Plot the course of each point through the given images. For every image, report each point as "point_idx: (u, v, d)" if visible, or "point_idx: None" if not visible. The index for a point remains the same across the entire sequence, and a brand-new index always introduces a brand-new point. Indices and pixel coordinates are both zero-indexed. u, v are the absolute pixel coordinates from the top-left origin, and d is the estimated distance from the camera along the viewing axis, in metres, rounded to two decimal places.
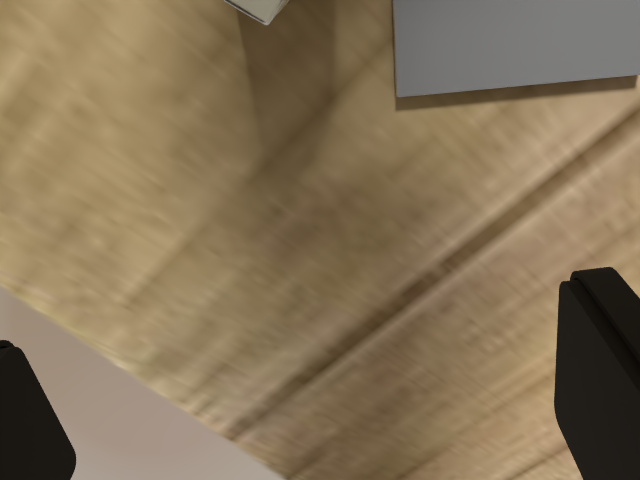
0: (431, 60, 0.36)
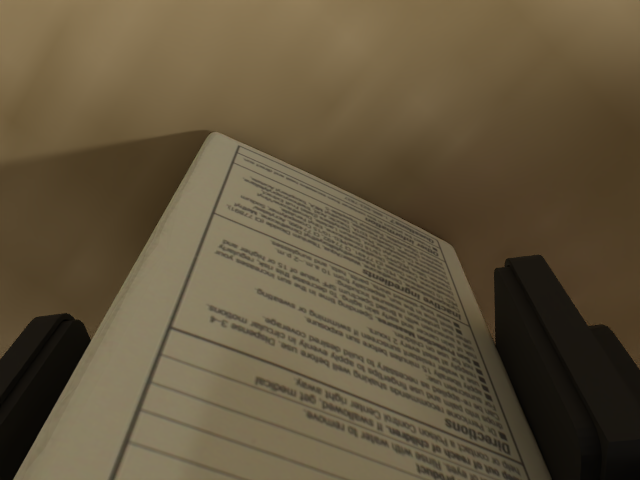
0: None
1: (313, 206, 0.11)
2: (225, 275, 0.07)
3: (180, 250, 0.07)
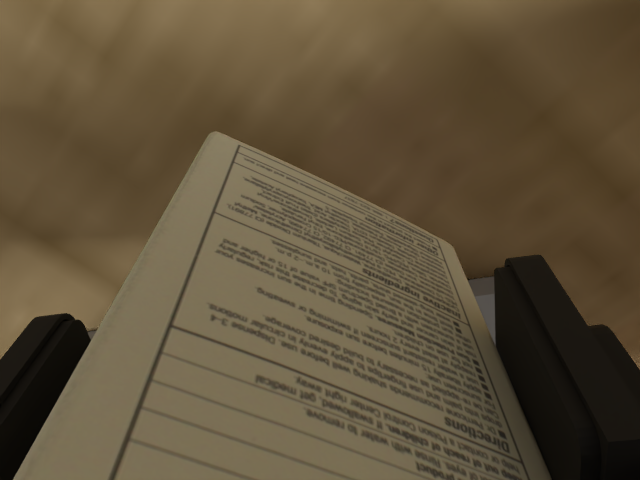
0: None
1: (313, 205, 0.11)
2: (226, 274, 0.07)
3: (181, 249, 0.07)
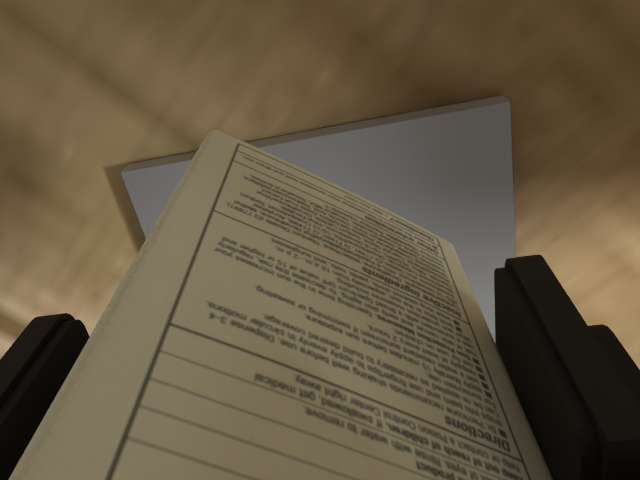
0: None
1: (312, 204, 0.10)
2: (224, 272, 0.07)
3: (179, 247, 0.07)
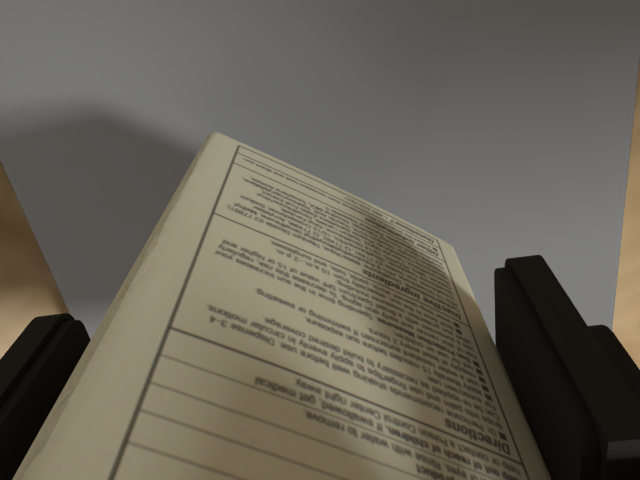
0: (30, 48, 0.15)
1: (313, 206, 0.10)
2: (225, 275, 0.07)
3: (179, 250, 0.07)
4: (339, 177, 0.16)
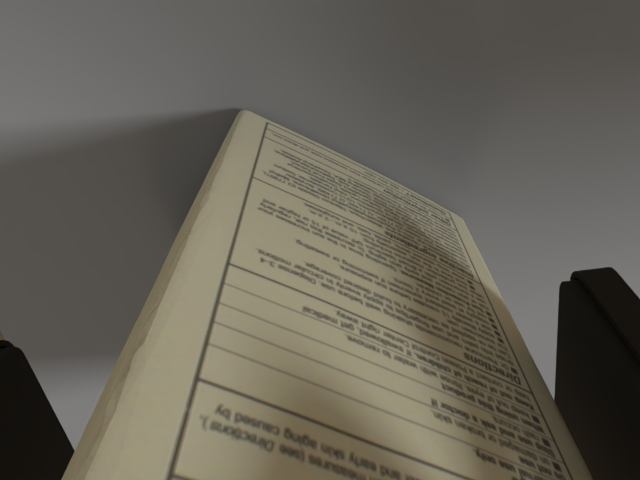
0: None
1: (337, 177, 0.11)
2: (268, 227, 0.08)
3: (228, 204, 0.08)
4: None
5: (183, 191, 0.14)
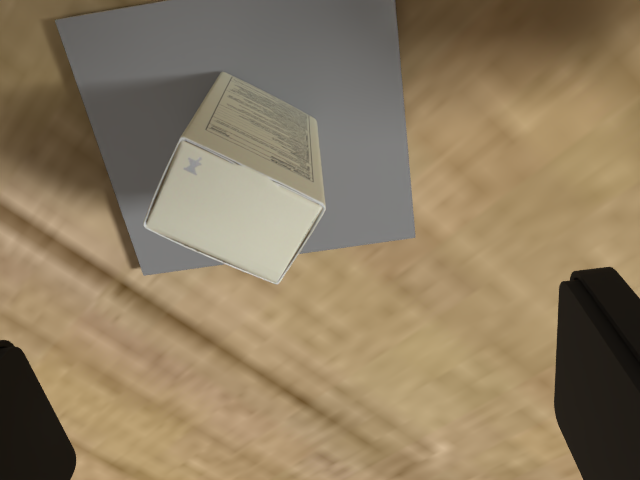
0: (108, 57, 0.31)
1: (258, 96, 0.30)
2: (230, 100, 0.27)
3: (218, 94, 0.27)
4: None
5: (197, 107, 0.32)
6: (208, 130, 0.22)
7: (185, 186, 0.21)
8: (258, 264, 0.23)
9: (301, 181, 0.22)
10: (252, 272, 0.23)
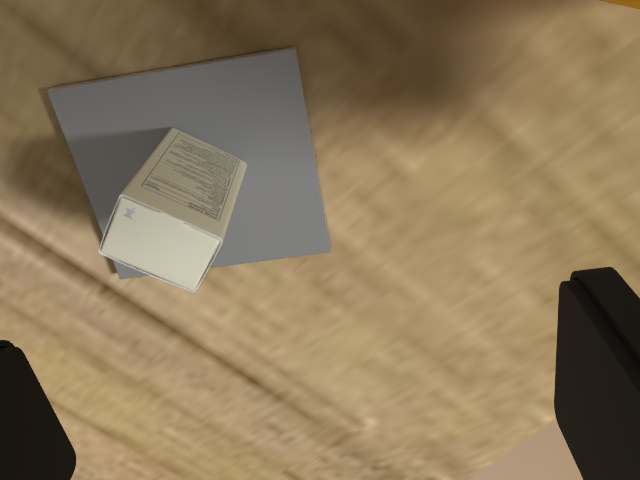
0: (87, 116, 0.41)
1: (198, 147, 0.40)
2: (170, 156, 0.37)
3: (161, 151, 0.37)
4: None
5: None
6: (142, 186, 0.32)
7: (125, 226, 0.31)
8: (179, 278, 0.33)
9: (208, 221, 0.32)
10: (176, 284, 0.33)
